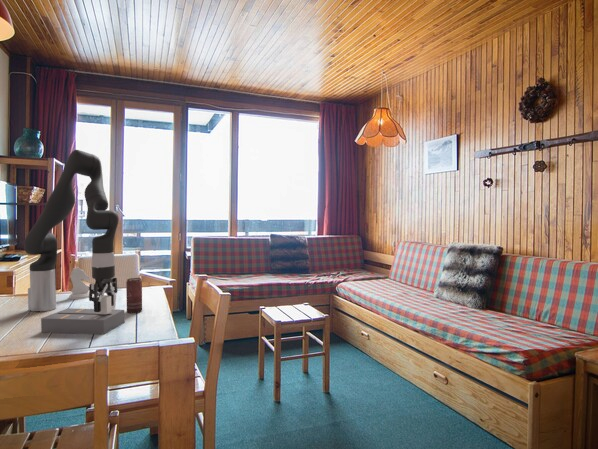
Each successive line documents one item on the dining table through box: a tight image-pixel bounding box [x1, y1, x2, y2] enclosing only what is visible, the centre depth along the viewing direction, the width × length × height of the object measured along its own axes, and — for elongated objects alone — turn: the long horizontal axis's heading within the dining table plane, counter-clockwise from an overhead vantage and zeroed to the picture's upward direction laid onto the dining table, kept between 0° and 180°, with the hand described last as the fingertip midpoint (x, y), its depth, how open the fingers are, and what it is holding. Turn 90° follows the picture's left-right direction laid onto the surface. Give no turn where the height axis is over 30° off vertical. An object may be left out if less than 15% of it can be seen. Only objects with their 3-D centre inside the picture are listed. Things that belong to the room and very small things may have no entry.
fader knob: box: [96, 296, 111, 315], centre depth 144 cm, size 4×3×8 cm
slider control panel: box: [40, 307, 125, 335], centre depth 145 cm, size 23×14×5 cm, turn 86°
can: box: [125, 277, 143, 314], centre depth 167 cm, size 6×6×14 cm
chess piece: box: [68, 266, 90, 300], centre depth 194 cm, size 10×10×15 cm
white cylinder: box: [103, 292, 118, 310], centre depth 170 cm, size 7×7×7 cm
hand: (104, 308), depth 144 cm, fingers open, 8 cm apart
